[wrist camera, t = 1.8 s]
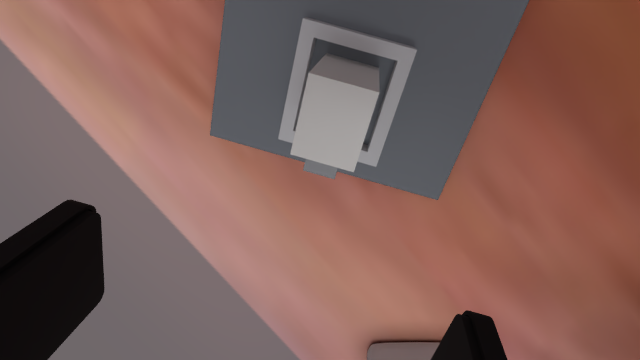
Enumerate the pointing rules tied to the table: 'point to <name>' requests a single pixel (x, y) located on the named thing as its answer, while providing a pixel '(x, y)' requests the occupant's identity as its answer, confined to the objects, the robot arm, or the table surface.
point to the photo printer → (402, 351)
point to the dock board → (372, 49)
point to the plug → (335, 114)
